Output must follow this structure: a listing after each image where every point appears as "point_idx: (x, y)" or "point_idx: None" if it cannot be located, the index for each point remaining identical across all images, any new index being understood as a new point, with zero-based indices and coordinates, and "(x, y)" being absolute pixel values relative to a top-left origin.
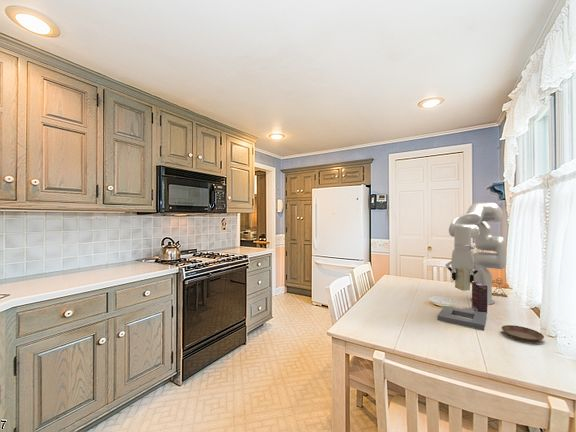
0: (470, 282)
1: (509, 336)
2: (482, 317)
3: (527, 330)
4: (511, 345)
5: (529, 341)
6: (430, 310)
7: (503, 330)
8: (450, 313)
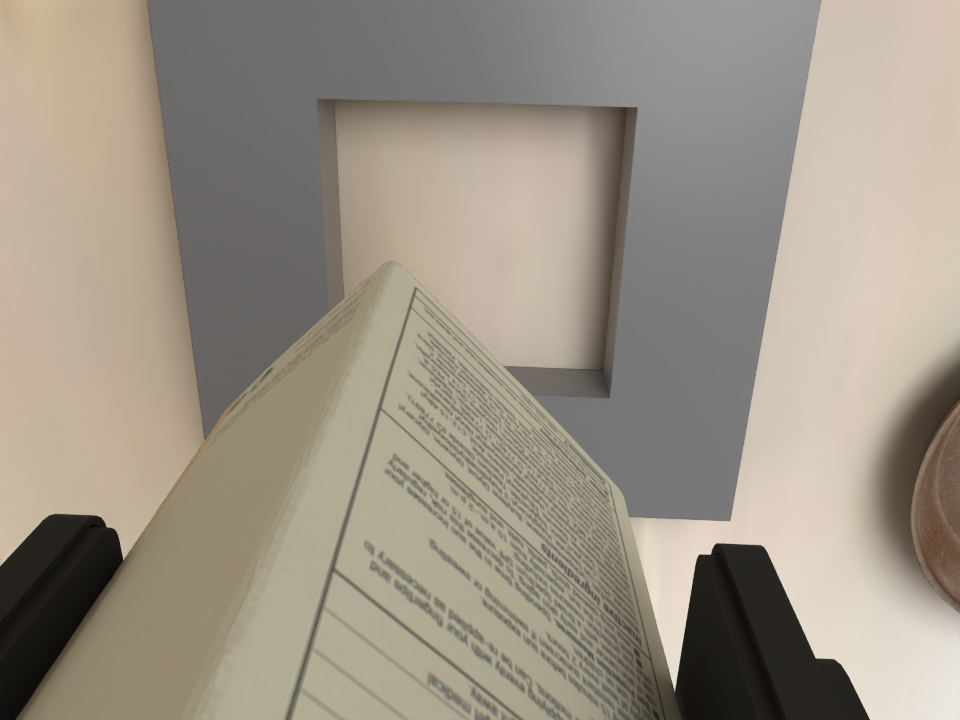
0: (680, 714)
1: (944, 534)
2: (740, 220)
3: None
4: (902, 707)
5: None
6: (12, 100)
7: (916, 553)
8: (322, 314)
